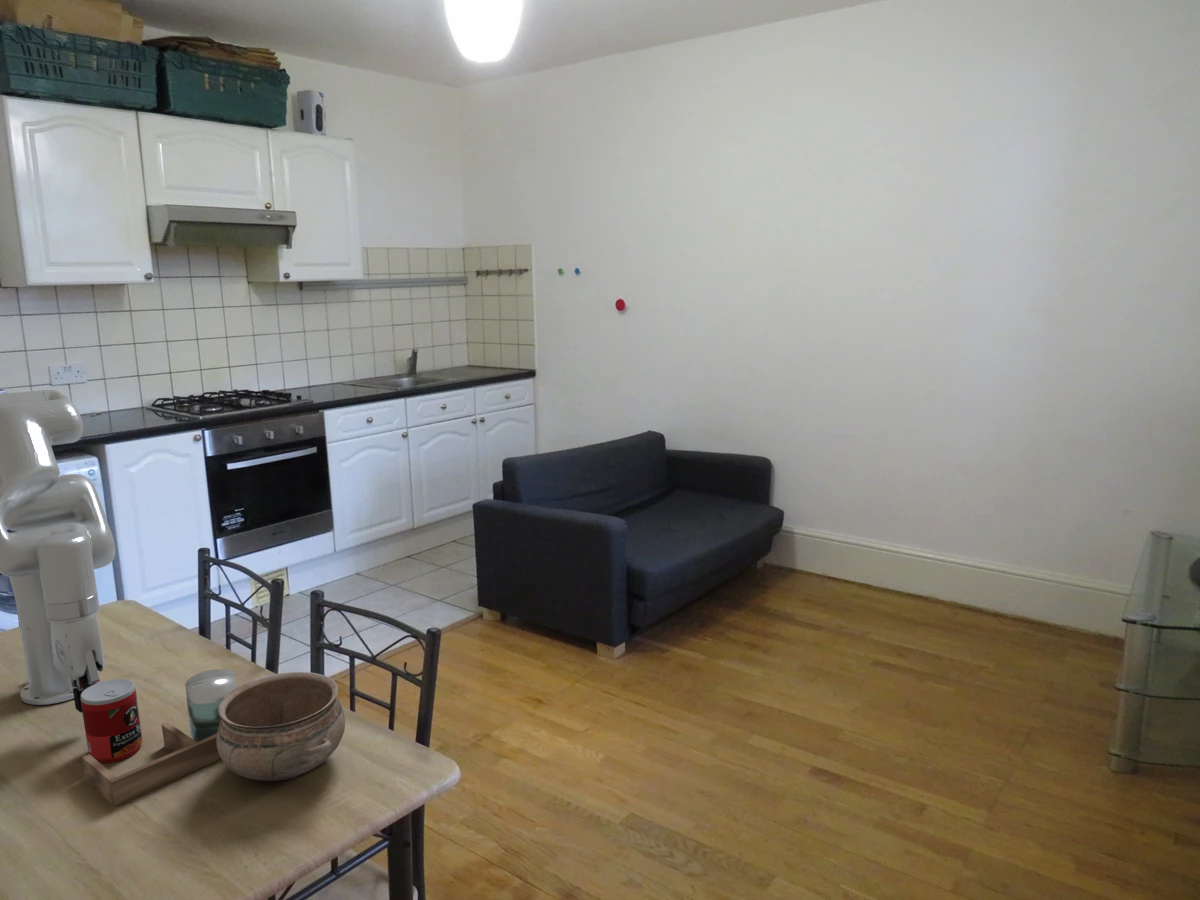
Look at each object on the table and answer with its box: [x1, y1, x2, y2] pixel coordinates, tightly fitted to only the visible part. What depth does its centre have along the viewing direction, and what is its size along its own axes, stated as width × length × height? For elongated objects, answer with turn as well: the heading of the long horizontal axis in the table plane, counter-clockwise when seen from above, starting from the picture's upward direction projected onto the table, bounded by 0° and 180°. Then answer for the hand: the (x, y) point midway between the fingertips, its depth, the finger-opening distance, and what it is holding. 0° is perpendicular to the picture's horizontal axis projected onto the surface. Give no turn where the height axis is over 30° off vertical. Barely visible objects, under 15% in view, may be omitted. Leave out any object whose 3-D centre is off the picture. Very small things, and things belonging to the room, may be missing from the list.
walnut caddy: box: [81, 721, 222, 808], centre depth 136 cm, size 11×25×4 cm, turn 141°
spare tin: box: [184, 668, 238, 742], centre depth 140 cm, size 8×8×11 cm
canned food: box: [81, 678, 143, 764], centre depth 137 cm, size 8×8×11 cm
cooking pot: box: [217, 671, 346, 782], centre depth 131 cm, size 25×19×12 cm
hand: (88, 707), depth 143 cm, fingers closed
